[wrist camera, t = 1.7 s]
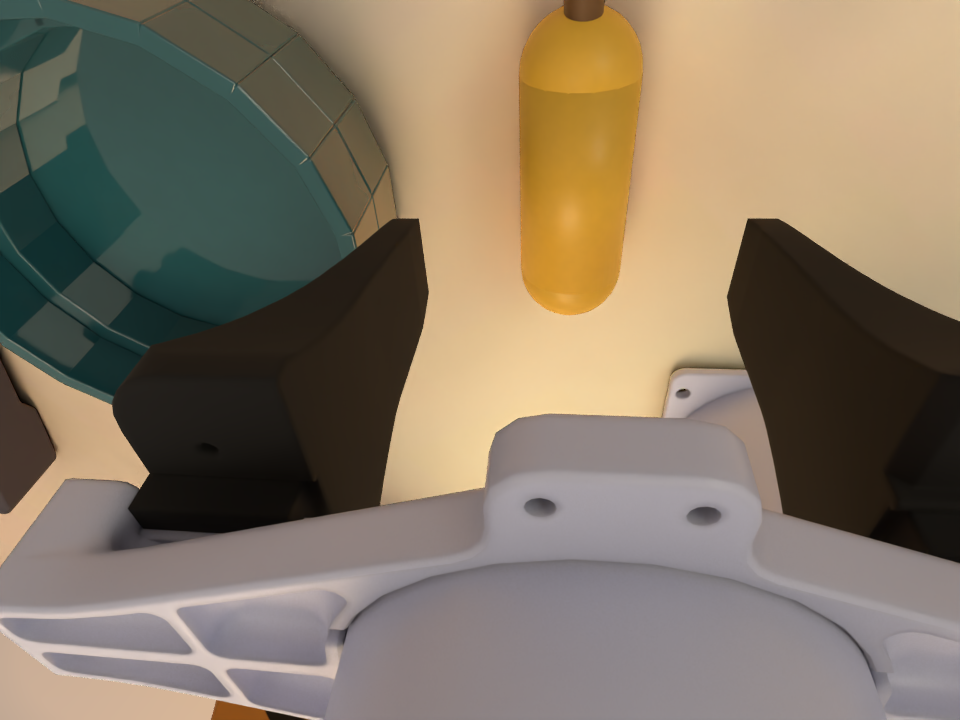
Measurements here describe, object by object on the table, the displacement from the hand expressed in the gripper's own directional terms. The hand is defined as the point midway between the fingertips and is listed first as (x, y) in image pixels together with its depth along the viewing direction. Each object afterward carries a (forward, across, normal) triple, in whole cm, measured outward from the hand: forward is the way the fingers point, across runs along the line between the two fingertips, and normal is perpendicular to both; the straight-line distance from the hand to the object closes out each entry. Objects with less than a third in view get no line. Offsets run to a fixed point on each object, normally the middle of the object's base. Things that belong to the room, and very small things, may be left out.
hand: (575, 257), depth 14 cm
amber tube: (+6, 0, 0) cm, 6 cm away
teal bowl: (+6, +12, +1) cm, 13 cm away
